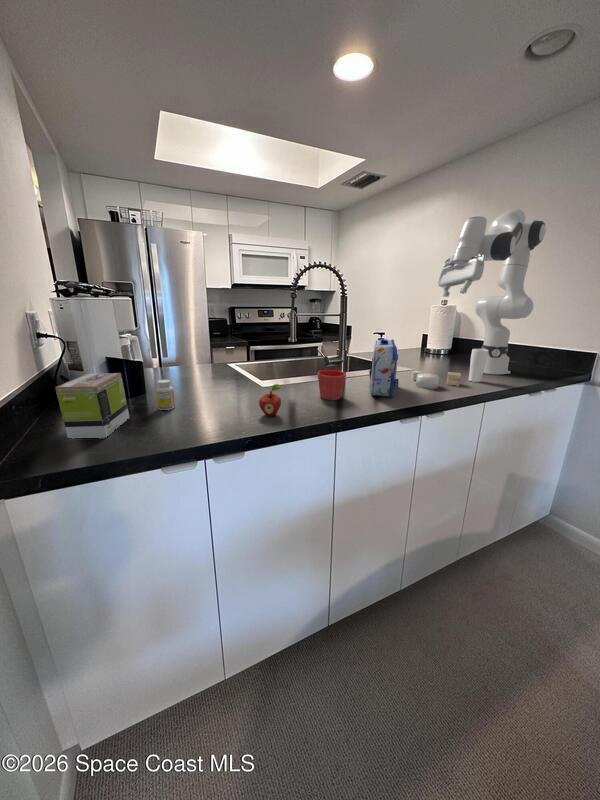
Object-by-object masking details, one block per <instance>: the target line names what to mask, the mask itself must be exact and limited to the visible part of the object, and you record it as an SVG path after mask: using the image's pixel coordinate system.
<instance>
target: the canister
mask: <svg viewBox="0 0 600 800" xmlns="http://www.w3.org/2000/svg"><path fill="white" fill-rule="evenodd" d="M439 379H440V376H439V375H438V374H433V373H428V372H427V373H425V372H422V373H420V374H417V380H416V381H415V386H416V387H417V386H418V387H417V388H420V387H421V389H424V388H426V389H425V390H436V389H438V385H439ZM435 388H436V389H435Z"/></svg>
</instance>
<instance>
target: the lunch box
mask: <svg viewBox="0 0 600 800" xmlns="http://www.w3.org/2000/svg"><path fill="white" fill-rule="evenodd" d="M398 359H399V354H398V347H397V346H396V344H395V340H394V339H387V338H385V339H383V338H381V339H376V340H375V342H374V346H373V353H372V364H371V375H370V380H369V381H370V382H369V392H370V395H371V396H380V397H390V398H392V397H393V396H394V395H395V390H398V389H399V378H396V377H397V370H398Z"/></svg>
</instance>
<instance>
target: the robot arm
mask: <svg viewBox="0 0 600 800" xmlns="http://www.w3.org/2000/svg"><path fill="white" fill-rule="evenodd" d="M487 224H488V219H487V218H486V217H485V216H473V217H469V218H467V219H466V220H465V221H464V224H463V226H462V228H461V230H460V232H459V236H458V239H457V245H456V248H455V250H454V253H453V254H452V255H450V256H449V257H448V258H447V259H445V261H443V263H442V267H443V268H442V269H441V272H440V274H439V276H438V281H437V286H438V287H440V288H442V289H443V295H442V296H443V298H448V297H449V296H450V293H451V292H449V290H450V289H451V287H455V286H459V285H463V286H462V287H461V288H460V291H459V293H460V294H466V293H467V292H468V289H469V288H470V287H471V285H472V283H473V282H477V281H479V280H480V279H481V278H482V277H483V273H484V268H485V262H489V261H493V262H494V261H499V262H500V261H503V262H502V264H501V268H500V272H499V275H498V278H497V285H498V287H499V288H501V289H502V290H505V291H506V295H490V296H485V297H481V298H480V299H478V301H477V302H476V303H475V306H474V308H475V313H476V315H477V316H478V317H479V318H480V319H481V321H482V323H483V324H484V339H483V344H482V346H481V348H480V349H486V350H489V351H488V358H487V362H486V365H485V368H484V372H483V374H487V375H507V374H508V375H509V374H511V371H510V370H509V369H508V368H509V362H510V357H509V356H508V355H507V353H508V351H509V346H508V345H509V340H510V336H511V331H510V329H509V328H508V327H507V326H505V325H503V324H502V322H501V321H502V319H504V320H505V319H507V320H519V319H525V318H527V317H529V316H530V315H531V313H532V312H533V309H534V302H533V300H532V299H531V297H529V296H528V294H527V293H526V290H525V288H524V286H525V285H524V283H525V278H526V276H527V271H528V266H529V263H530V257H531V251H533V250H534V249H535V248H536V247H537V246H539V245H540V244H541V243H542V242H543V240H544V237H545V235H546V231H547V229H546V228H547V227H546V223H545V222H544V220H533V221H526V214H525V212H524V210H522V209H520V208H513V209H509V210H507V211H504V212H503V213H501V214H500V215H499V216H498V217H495V219H494V220H493V221H492V222H491V223H490V225H489V227H488V234H486V231H487Z"/></svg>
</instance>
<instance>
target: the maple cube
mask: <svg viewBox="0 0 600 800" xmlns="http://www.w3.org/2000/svg"><path fill="white" fill-rule="evenodd" d="M461 378H462V373H460V372H450V371H448V372H447V378H446V385H447V386H452V385H456V386H455V387H460V384H461V383H460V382H461Z"/></svg>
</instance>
